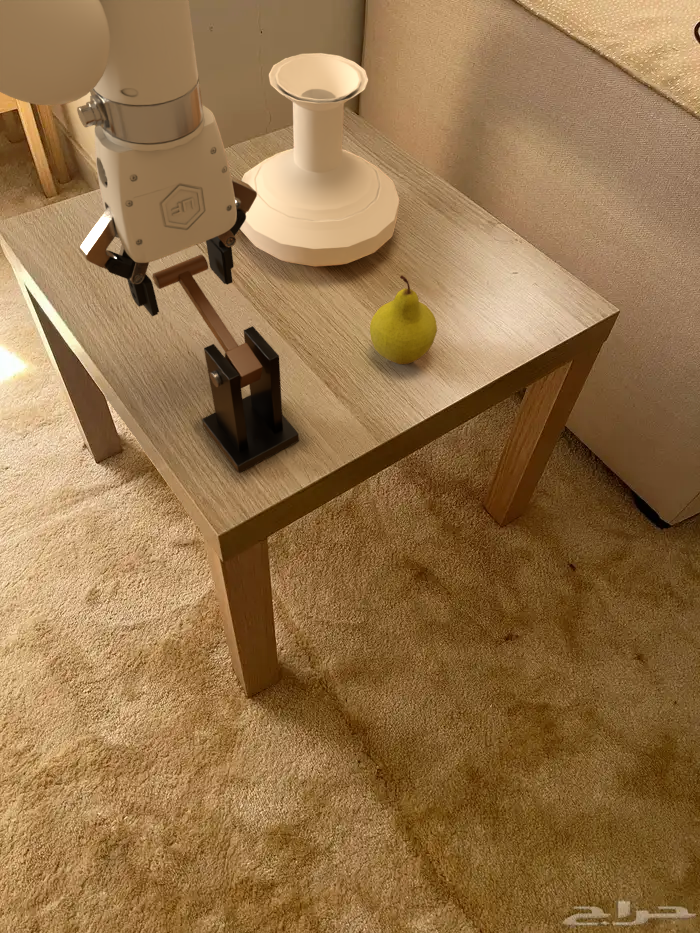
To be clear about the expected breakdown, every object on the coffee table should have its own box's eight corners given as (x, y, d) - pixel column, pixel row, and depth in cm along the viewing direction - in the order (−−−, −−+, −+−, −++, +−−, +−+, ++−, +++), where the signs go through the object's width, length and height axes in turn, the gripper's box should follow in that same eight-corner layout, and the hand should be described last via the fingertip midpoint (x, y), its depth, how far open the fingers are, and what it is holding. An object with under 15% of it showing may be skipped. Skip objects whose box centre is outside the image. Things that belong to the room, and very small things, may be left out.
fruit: (402, 323, 81) (414, 235, 71) (443, 357, 78) (463, 271, 68) (356, 350, 78) (363, 263, 68) (398, 386, 75) (411, 301, 65)
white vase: (421, 265, 87) (446, 112, 71) (266, 300, 82) (255, 145, 66) (360, 174, 97) (370, 22, 81) (219, 200, 92) (200, 45, 76)
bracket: (203, 426, 71) (186, 343, 61) (262, 396, 74) (254, 312, 64) (238, 473, 68) (226, 394, 58) (299, 441, 71) (297, 360, 61)
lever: (152, 283, 65) (151, 267, 63) (200, 263, 67) (200, 247, 64) (226, 396, 62) (227, 384, 60) (273, 373, 64) (276, 360, 62)
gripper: (57, 166, 47) (117, 352, 61) (278, 95, 53) (285, 279, 68) (14, 113, 50) (81, 302, 65) (227, 52, 56) (244, 237, 71)
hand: (185, 289), depth 66 cm, fingers open, 7 cm apart
